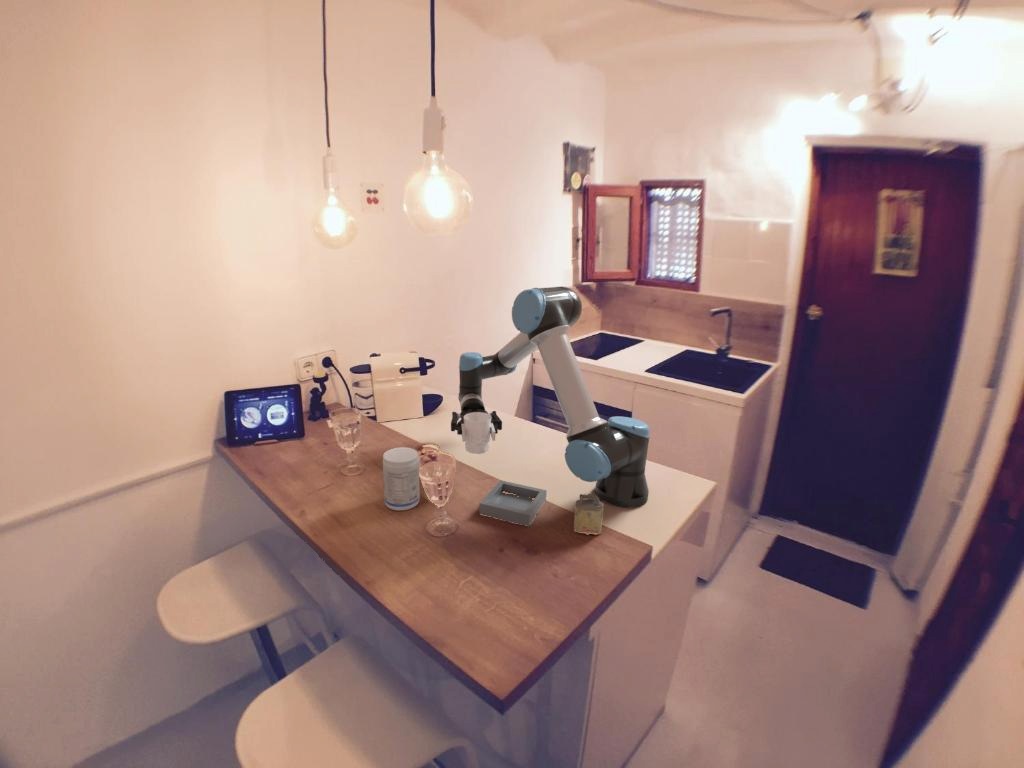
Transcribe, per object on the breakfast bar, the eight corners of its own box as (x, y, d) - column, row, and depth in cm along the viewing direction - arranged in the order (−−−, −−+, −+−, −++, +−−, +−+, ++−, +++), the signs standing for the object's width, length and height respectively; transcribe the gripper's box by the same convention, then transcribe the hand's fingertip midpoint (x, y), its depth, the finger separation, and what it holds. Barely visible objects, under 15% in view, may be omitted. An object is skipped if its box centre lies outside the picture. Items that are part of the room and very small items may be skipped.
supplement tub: (387, 494, 140) (385, 446, 136) (421, 493, 141) (420, 446, 137) (382, 512, 131) (379, 462, 127) (418, 511, 132) (417, 461, 128)
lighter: (600, 528, 127) (604, 493, 124) (602, 537, 124) (605, 501, 121) (573, 526, 128) (575, 491, 125) (573, 534, 124) (576, 499, 121)
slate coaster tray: (545, 503, 139) (546, 490, 138) (528, 528, 127) (529, 515, 125) (500, 492, 144) (500, 480, 143) (479, 516, 131) (479, 503, 130)
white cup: (487, 456, 139) (487, 423, 136) (460, 453, 140) (460, 420, 137) (493, 445, 146) (494, 413, 143) (468, 442, 148) (468, 411, 145)
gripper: (503, 418, 161) (515, 447, 139) (440, 420, 158) (441, 450, 136) (504, 396, 159) (516, 422, 137) (440, 398, 156) (441, 424, 134)
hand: (479, 436), depth 137 cm, fingers closed on white cup, 8 cm apart
